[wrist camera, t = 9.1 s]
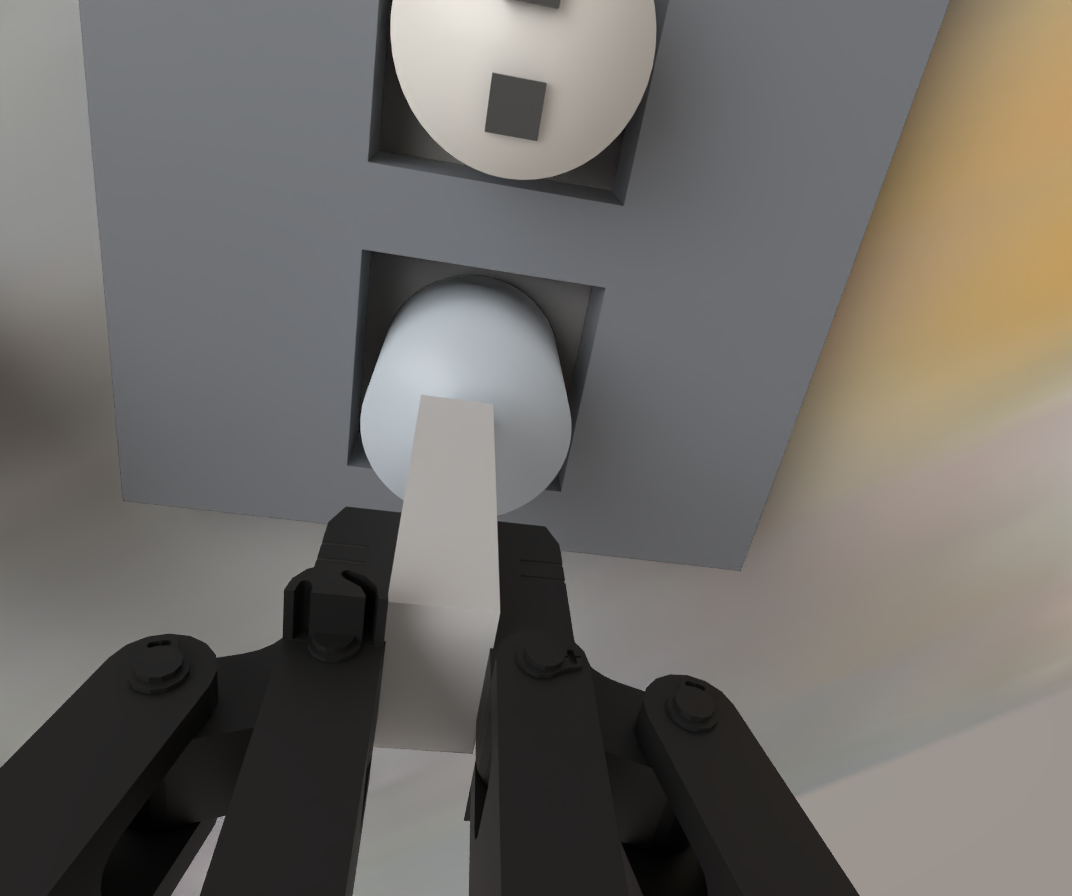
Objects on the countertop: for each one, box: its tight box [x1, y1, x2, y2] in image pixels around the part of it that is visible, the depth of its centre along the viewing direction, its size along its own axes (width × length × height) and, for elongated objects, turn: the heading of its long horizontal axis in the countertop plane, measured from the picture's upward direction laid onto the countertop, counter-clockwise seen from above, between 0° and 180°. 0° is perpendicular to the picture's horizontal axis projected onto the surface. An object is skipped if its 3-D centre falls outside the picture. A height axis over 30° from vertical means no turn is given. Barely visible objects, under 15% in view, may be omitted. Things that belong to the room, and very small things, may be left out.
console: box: [79, 0, 950, 571], centre depth 17 cm, size 18×26×2 cm
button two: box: [390, 0, 657, 180], centre depth 16 cm, size 5×5×5 cm
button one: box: [360, 275, 571, 516], centre depth 19 cm, size 5×5×5 cm
